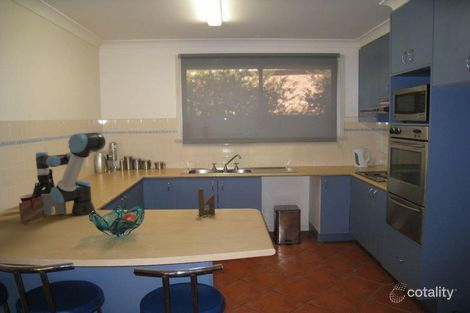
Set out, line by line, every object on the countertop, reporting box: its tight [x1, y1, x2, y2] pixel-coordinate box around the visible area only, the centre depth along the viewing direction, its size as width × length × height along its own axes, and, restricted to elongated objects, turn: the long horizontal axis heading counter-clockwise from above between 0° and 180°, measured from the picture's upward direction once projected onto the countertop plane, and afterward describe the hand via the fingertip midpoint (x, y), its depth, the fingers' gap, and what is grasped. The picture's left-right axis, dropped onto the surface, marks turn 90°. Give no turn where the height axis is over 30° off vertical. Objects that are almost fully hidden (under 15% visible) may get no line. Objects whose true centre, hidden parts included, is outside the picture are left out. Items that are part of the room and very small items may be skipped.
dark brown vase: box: [39, 168, 56, 197], centre depth 280 cm, size 18×18×28 cm
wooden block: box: [197, 187, 216, 217], centre depth 238 cm, size 4×11×18 cm, turn 98°
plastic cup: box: [18, 193, 35, 210], centre depth 259 cm, size 11×11×12 cm
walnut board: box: [18, 197, 46, 225], centre depth 234 cm, size 2×18×14 cm, turn 167°
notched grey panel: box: [41, 194, 67, 216], centre depth 250 cm, size 18×2×14 cm, turn 77°
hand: (45, 203), depth 251 cm, fingers open, 13 cm apart
